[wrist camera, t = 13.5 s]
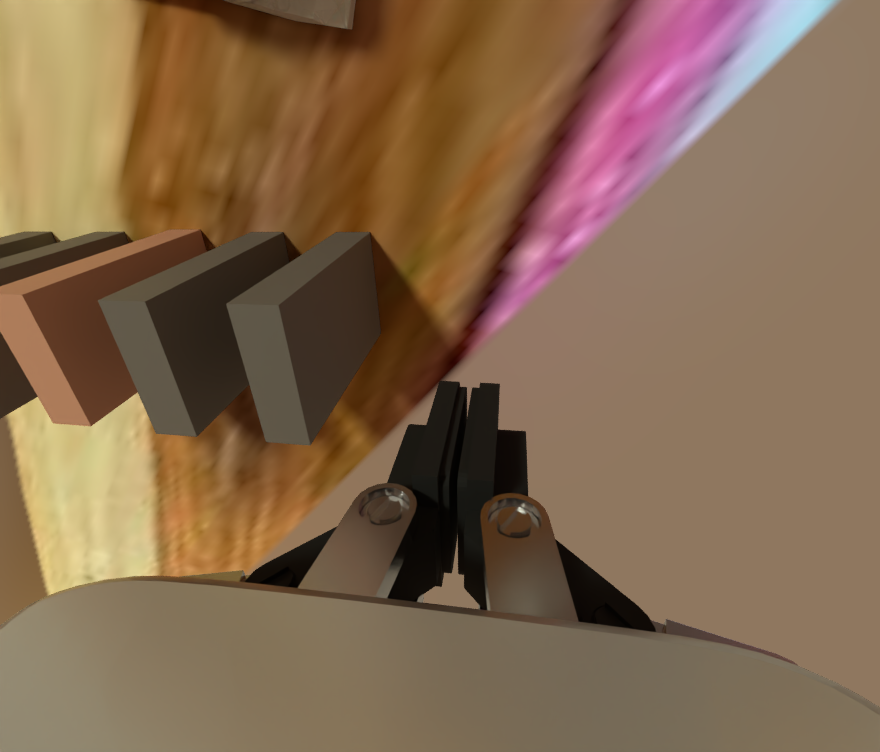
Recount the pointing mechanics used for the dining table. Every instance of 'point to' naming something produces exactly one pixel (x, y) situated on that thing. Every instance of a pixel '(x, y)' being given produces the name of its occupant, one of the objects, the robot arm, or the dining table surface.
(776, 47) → the dining table surface
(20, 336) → the domino
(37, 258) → the domino
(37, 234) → the domino
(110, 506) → the dining table surface
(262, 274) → the domino
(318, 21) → the packaged product
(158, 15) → the dining table surface
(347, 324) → the domino
